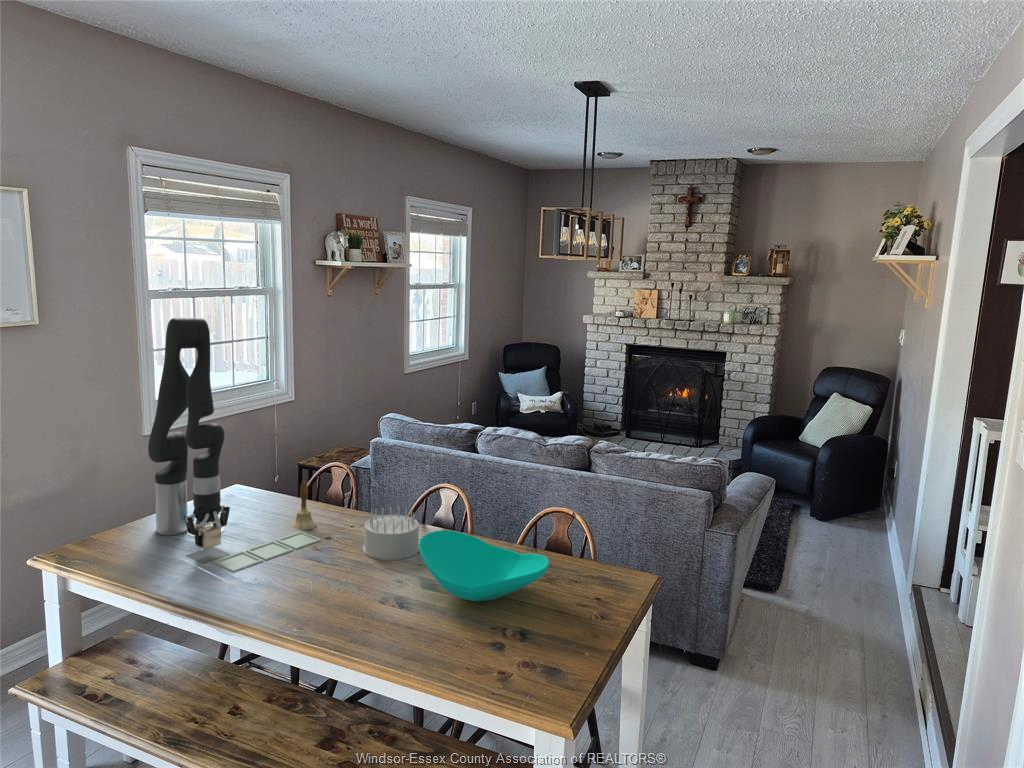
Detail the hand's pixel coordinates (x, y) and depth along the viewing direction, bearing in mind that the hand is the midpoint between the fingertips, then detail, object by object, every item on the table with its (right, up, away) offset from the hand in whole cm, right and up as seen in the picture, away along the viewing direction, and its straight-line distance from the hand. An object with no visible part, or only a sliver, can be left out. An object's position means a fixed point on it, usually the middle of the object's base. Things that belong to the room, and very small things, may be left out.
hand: (208, 543), depth 215 cm
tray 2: (+17, -4, +6) cm, 18 cm away
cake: (+53, -5, +13) cm, 55 cm away
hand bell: (+21, -1, +29) cm, 35 cm away
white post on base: (-9, -1, +20) cm, 23 cm away
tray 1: (+10, -5, -3) cm, 12 cm away
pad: (0, -4, +1) cm, 4 cm away
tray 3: (+23, -3, +15) cm, 28 cm away
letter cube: (0, 0, 0) cm, 0 cm away
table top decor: (+84, -11, -15) cm, 86 cm away
